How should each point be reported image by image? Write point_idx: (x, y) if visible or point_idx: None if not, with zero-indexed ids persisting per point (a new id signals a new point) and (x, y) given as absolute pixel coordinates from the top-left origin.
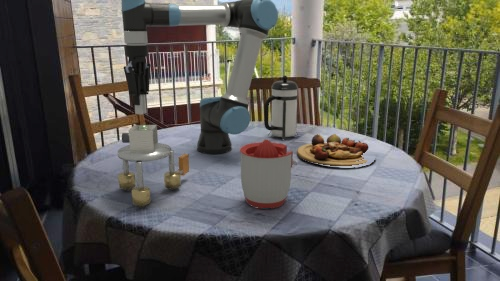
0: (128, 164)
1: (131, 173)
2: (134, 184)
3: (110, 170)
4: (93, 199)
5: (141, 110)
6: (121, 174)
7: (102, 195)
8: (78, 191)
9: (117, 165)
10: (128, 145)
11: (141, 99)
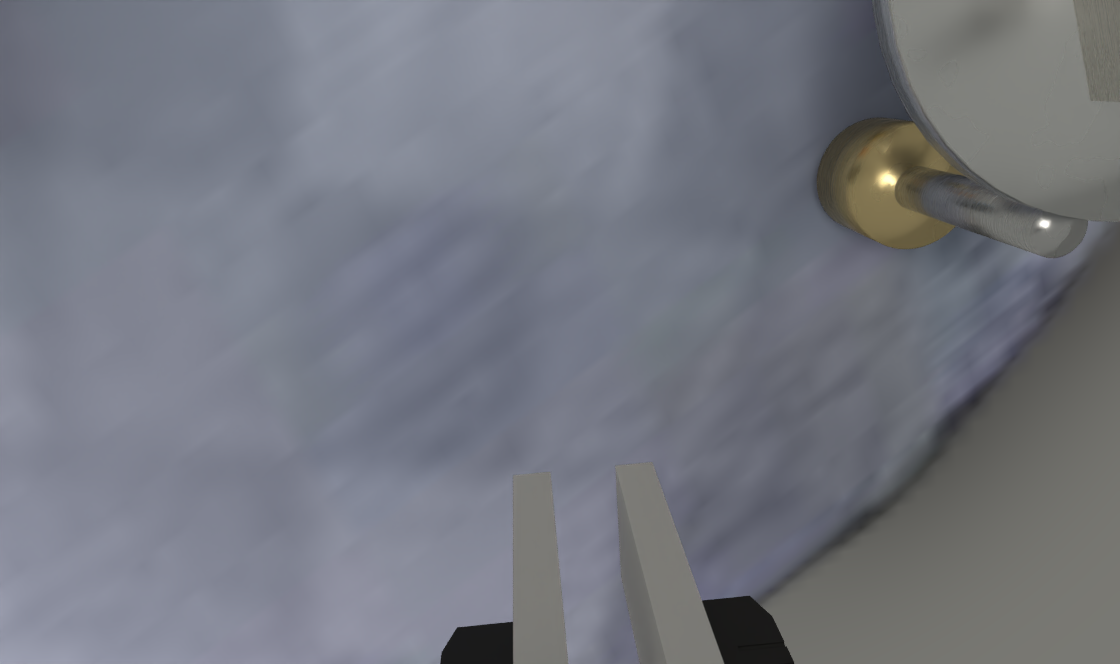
0: (960, 178)
1: (884, 168)
2: (881, 118)
3: (584, 502)
4: (1029, 271)
5: (667, 507)
6: (923, 224)
7: (965, 265)
8: (940, 429)
9: (486, 526)
10: (1063, 206)
11: (702, 661)
